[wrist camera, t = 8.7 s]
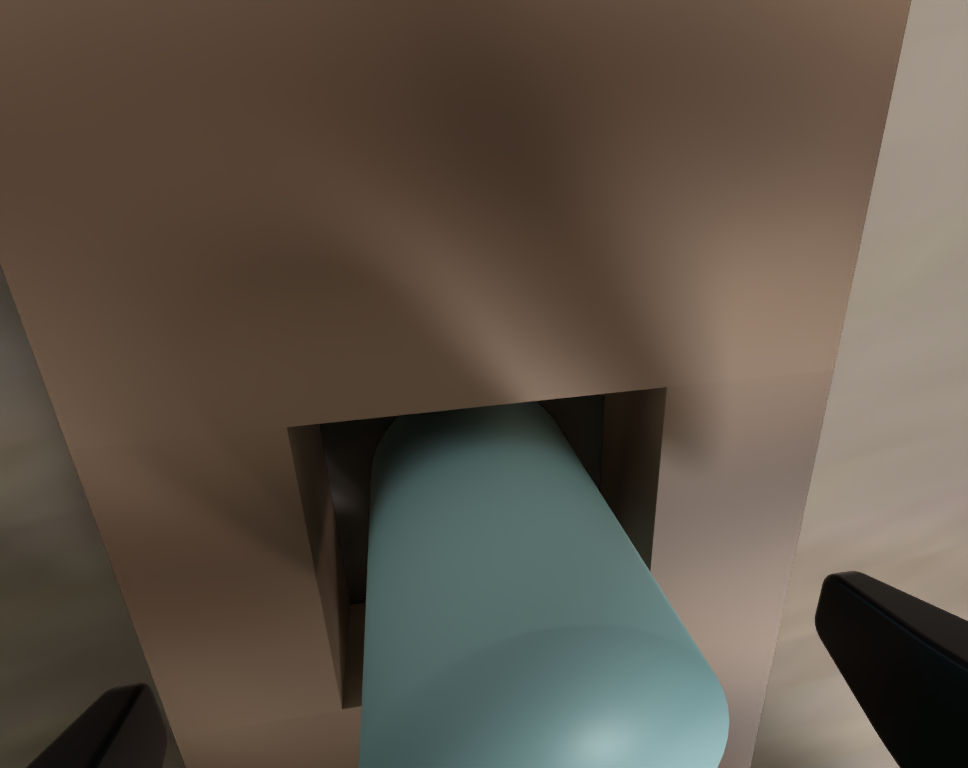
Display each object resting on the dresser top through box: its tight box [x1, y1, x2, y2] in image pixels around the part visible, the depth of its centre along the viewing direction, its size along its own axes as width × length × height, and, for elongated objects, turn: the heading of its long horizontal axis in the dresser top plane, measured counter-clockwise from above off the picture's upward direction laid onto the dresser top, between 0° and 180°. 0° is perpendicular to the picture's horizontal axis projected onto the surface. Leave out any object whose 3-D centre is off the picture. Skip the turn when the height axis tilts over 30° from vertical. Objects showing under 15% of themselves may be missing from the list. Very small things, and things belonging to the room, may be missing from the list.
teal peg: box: [359, 401, 729, 768], centre depth 9 cm, size 4×4×6 cm
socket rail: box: [0, 0, 911, 768], centre depth 10 cm, size 18×11×2 cm, turn 2°
